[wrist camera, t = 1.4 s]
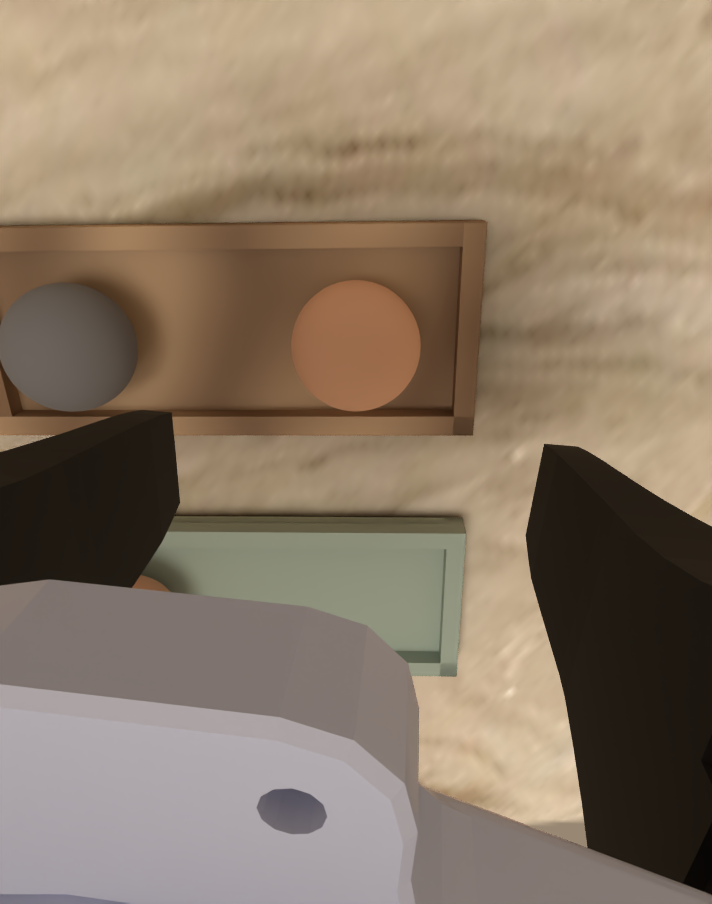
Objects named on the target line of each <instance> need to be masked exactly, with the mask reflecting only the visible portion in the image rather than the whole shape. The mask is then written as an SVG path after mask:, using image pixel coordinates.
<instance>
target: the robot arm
mask: <svg viewBox="0 0 712 904" xmlns="http://www.w3.org/2000/svg"><path fill="white" fill-rule="evenodd" d="M179 504H180V497H179V486H178V475H177V464H176V452H175V441H174V430H173V419H172V412H162V411H150V410H137V411H131V412H127V413H123V414H119V415H116V416H113V417H110V418H106V419H103V420H100V421H97V422H94V423H91V424H88V425H85V426H82V427H79V428H76V429H73V430H71V431H68V432H65V433H62V434H59V435H56V436H53V437H49V438H46V439H43V440H40V441H36V442H33V443H30V444H27V445H23V446H20V447H17V448H13V449H10V450H7V451H4V452H0V904H712V526H710V525H708V524H706V523H704V522H702V521H700V520H698V519H696V518H694V517H692V516H691V515H689V514H687V513H685V512H684V511H682V510H680V509H678V508H677V507H675V506H673V505H671V504H670V503H668V502H666V501H665V500H663V499H661V498H660V497H658V496H656V495H655V494H653V493H652V492H650V491H648V490H647V489H645V488H644V487H642V486H640V485H639V484H637V483H636V482H634V481H633V480H631V479H630V478H628V477H627V476H625V475H624V474H622V473H621V472H619V471H618V470H616V469H615V468H613V467H612V466H610V465H609V464H607V463H605V462H604V461H602V460H601V459H599V458H598V457H596V456H594V455H593V454H591V453H589V452H588V451H586V450H584V449H582V448H579V447H575V446H563V445H552V444H544V447H543V452H542V457H541V462H540V467H539V472H538V477H537V482H536V487H535V492H534V497H533V502H532V507H531V512H530V517H529V522H528V527H527V532H526V542H527V550H528V559H529V566H530V573H531V579H532V582H533V586H534V590H535V593H536V597H537V600H538V604H539V607H540V611H541V614H542V617H543V621H544V624H545V628H546V631H547V634H548V638H549V641H550V644H551V648H552V651H553V655H554V658H555V661H556V665H557V668H558V671H559V675H560V679H561V683H562V687H563V691H564V696H565V700H566V706H567V712H568V718H569V724H570V730H571V735H572V741H573V747H574V754H575V760H576V767H577V774H578V780H579V787H580V794H581V800H582V807H583V815H584V823H585V831H586V838H587V846H588V848H586V847H584V846H581V845H578V844H576V843H573V842H570V841H568V840H565V839H563V838H560V837H557V836H555V835H552V834H549V833H547V832H544V831H541V830H539V829H536V828H533V827H531V826H528V825H525V824H523V823H520V822H517V821H515V820H512V819H510V818H507V817H504V816H502V815H499V814H496V813H494V812H491V811H488V810H486V809H483V808H480V807H478V806H475V805H472V804H470V803H467V802H464V801H462V800H459V799H456V798H454V797H451V796H449V795H446V794H443V793H441V792H438V791H435V790H433V789H430V788H427V787H425V786H422V785H421V784H420V783H419V782H418V762H419V706H418V702H417V698H416V693H415V689H414V685H413V681H412V676H411V672H410V668H409V664H408V663H407V662H406V661H405V660H404V659H403V658H402V657H401V656H399V655H398V654H397V653H396V652H395V651H394V650H393V649H392V648H391V647H390V646H389V645H388V644H387V643H386V642H385V641H383V640H382V639H381V638H380V637H379V636H378V635H377V634H376V633H375V632H374V631H373V630H372V629H371V628H370V627H368V626H367V625H364V624H361V623H358V622H354V621H351V620H348V619H345V618H342V617H339V616H336V615H332V614H329V613H326V612H323V611H320V610H317V609H314V608H311V607H307V606H298V605H288V604H279V603H269V602H260V601H250V600H241V599H231V598H222V597H212V596H203V595H193V594H184V593H174V592H165V591H155V590H145V589H136V588H132V587H133V586H134V584H135V583H136V581H137V580H138V578H139V577H140V575H141V574H142V572H143V571H144V569H145V568H146V566H147V565H148V563H149V562H150V560H151V559H152V557H153V555H154V554H155V552H156V551H157V549H158V548H159V546H160V545H161V543H162V541H163V539H164V537H165V535H166V533H167V531H168V529H169V527H170V525H171V522H172V520H173V518H174V515H175V513H176V511H177V508H178V506H179Z"/></svg>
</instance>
